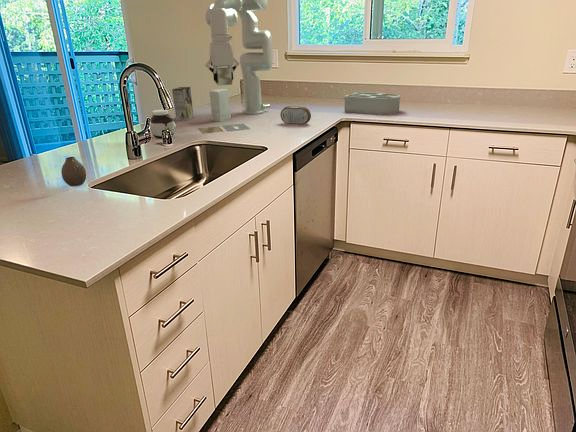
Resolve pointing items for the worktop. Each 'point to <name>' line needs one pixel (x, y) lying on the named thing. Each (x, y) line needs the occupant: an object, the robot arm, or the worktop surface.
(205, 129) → the pad
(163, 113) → the spread jar
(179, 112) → the coffee box
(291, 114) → the tin
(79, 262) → the worktop surface
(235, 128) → the plate
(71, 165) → the vase
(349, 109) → the compartment organizer box
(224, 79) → the sage block
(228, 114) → the skincare box
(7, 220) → the worktop surface
